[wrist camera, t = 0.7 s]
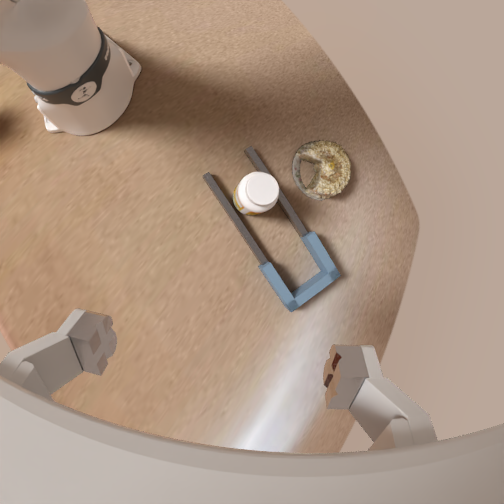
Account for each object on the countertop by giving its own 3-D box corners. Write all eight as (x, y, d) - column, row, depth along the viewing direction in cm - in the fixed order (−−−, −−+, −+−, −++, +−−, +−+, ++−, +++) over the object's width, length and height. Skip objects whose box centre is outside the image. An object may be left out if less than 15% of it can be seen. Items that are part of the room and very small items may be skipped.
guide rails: (202, 177, 44) (202, 175, 43) (249, 148, 45) (251, 146, 44) (260, 264, 46) (262, 265, 45) (305, 233, 47) (308, 233, 46)
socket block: (258, 266, 46) (262, 268, 43) (307, 231, 47) (314, 231, 45) (285, 307, 48) (291, 312, 45) (332, 273, 49) (340, 275, 46)
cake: (331, 136, 48) (347, 126, 43) (353, 190, 50) (371, 186, 44) (281, 150, 46) (294, 141, 41) (304, 209, 47) (320, 206, 42)
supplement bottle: (274, 192, 46) (292, 182, 37) (256, 222, 46) (270, 219, 36) (244, 173, 45) (255, 158, 36) (225, 203, 45) (232, 195, 36)
